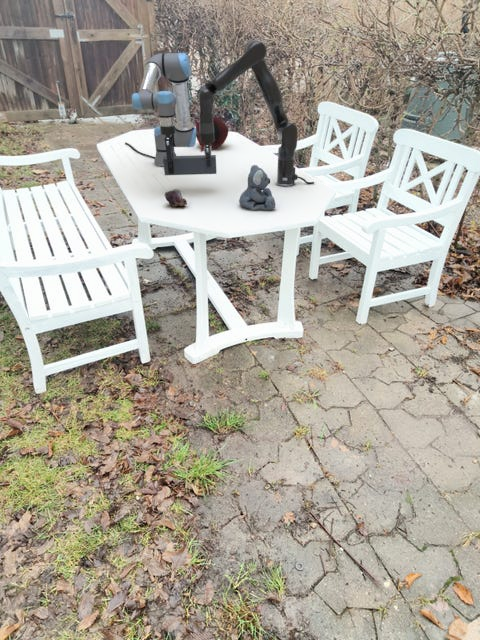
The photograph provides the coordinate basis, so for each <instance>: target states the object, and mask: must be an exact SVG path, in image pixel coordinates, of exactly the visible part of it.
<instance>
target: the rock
mask: <svg viewBox="0 0 480 640" xmlns="http://www.w3.org/2000/svg"><path fill="white" fill-rule="evenodd" d="M164 198H165V200H166V201H167V202H168V203H169V205H170V206H172V207H178V206H179V207H184V206H186V205H188V203H187V200H186V198H183V196H182V191H181V189H176V188H175V189H172V190H168V191H166V192H164Z"/></svg>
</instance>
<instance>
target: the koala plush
mask: <svg viewBox="0 0 480 640" xmlns="http://www.w3.org/2000/svg"><path fill="white" fill-rule="evenodd" d="M270 183H271V178H269V176H268V175H267V173H266V172H265V170H264V169H263V168H261V167H259V165H257V164H253V165H250V170H249V173H248V176H247V188H246V189H245V190H244V191H243V192H242V193H241V194H240V197H239V199H238V203H239V204H240V206H241V207H242V208H246V209H247V210H252V211H255V210H261V211H272V210H274V209H275V208H276V200H275V198H274V196H273V194H272V191H271V188H270V187H268V186H269V185H270Z"/></svg>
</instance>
